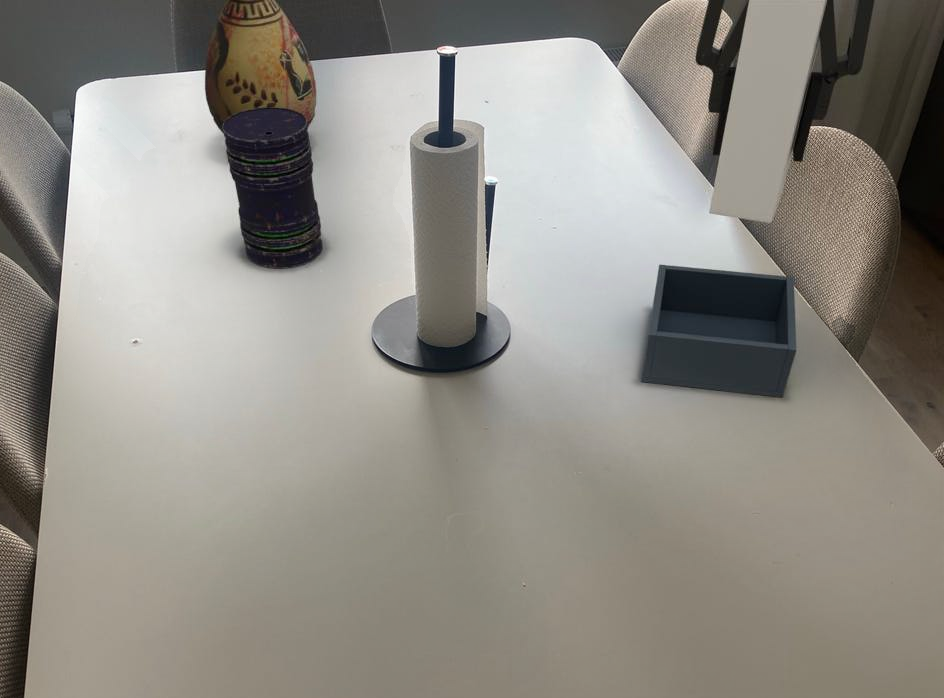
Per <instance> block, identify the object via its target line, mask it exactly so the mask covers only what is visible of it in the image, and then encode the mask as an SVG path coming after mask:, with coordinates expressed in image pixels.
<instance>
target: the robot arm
mask: <svg viewBox="0 0 944 698" xmlns="http://www.w3.org/2000/svg"><path fill="white" fill-rule="evenodd" d="M834 3H835V2H834V0H827V3H826V7H825V11H824V15H823V19H822V23H821V27H820V41H819V46H820V47H819V48H820V59H821V60H820V61H821V70H820V71H812V73H811V77H810V81H809V85H808V89H807V93H806V97H805V101H804V106H803V110H802V114H801V118H800V122H799V126H798V130H797V134H796V138H795V142H794V146H793V152H792V161H793V162H798V163H799V162H800V163H801V162H803V158H804V155H805V152H806V146H807V143H808V139H809V135H810V131H811V127H812V124H813V120H815V121H824V119H825V117H826V116H827V115H828V110H829V107H830V103H831V98H832V95H833V91H834V87H835V85H836V83H837V82H838V80H839V79H841V78H843V77H846V76H849V75H850V76H857V75H859V73H860V72H861V71H862V69H863V65H864V57H865V53H866V48H867V43H868V37H869V32H870V26H871V21H872V17H873V16H872V15H873V11H874V5H875V0H855V1H854V6H853V7H854V8H853V13H852V18H851V24H850V30H849V36H848V42H847V47H846V51H845V54H843V55H839V56H838V52H837V36H836V18H835V4H834ZM748 4H749V0H743V1H742V4H741V6H740V8H739V10H738V12H737V14H736V16H735V17H734V20H733V22H732V24H731V26H730V28H729V30H728V32H727V34H726V36H725V37H724V40H723V42H722V44H721V46H720V48H719V49H718V48H717V47H714V43H715V39H716V35H717V31H718V29H719V24H720V19H721V16H722V12H723V9H724V5H725V0H707V4H706V5H707V6H706V9H705V13H704V17H703V22H702V26H701V30H700V33H699V38H698V41H697V45H696V52H695V63H696V64H697V65H698V66H700V67H706V68H708V69H709V70H710V71H711V73H712V79H711V85H710V90H709V97H708V103H707V108H708V113H713V114H718V117H717V123H716V128H715V132H714V133H715V134H714V140H713V144H712V145H713V146H712V156H720V152H721V147H722V141H723V136H724V131H725V126H726V120H727V115H728V110H729V104H730V99H731V94H732V89H733V83H734V78H735V73H736V67H737V66H732V65H733V62H734V60H735V58H736V56H737V54H739V53H738V52H740V46H741V41H742V36H743V30H744V25H745V20H746V15H747V9H748Z"/></svg>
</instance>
